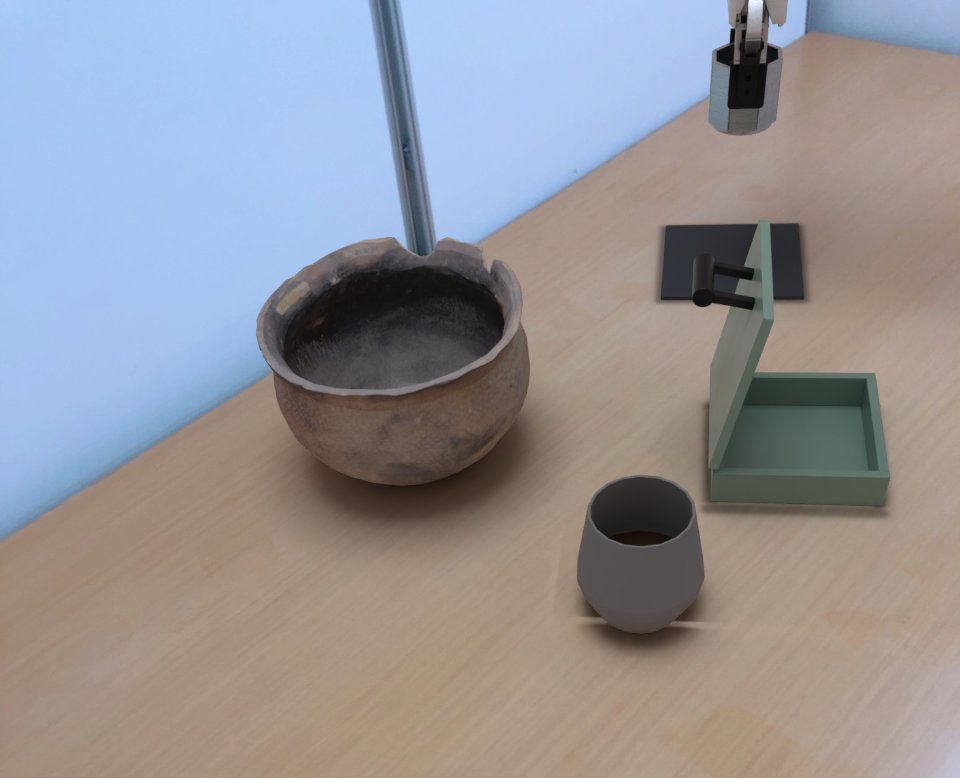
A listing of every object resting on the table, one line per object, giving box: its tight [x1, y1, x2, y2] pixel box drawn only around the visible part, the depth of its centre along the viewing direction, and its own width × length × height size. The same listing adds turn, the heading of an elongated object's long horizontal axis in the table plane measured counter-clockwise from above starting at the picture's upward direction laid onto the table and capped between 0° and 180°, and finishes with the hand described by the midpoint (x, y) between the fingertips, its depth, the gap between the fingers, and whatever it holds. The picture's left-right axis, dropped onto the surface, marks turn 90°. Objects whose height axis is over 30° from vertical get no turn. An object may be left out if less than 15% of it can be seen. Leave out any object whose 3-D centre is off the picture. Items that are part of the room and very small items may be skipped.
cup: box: [576, 474, 706, 635], centre depth 81 cm, size 10×9×10 cm
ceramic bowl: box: [255, 236, 531, 486], centre depth 94 cm, size 22×22×15 cm
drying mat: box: [660, 222, 805, 301], centre depth 114 cm, size 14×14×1 cm
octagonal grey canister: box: [707, 41, 784, 137], centre depth 101 cm, size 6×6×6 cm
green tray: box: [709, 371, 891, 507], centre depth 93 cm, size 14×14×4 cm
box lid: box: [691, 218, 775, 470], centre depth 87 cm, size 14×14×5 cm
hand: (744, 88), depth 101 cm, fingers closed on octagonal grey canister, 6 cm apart
